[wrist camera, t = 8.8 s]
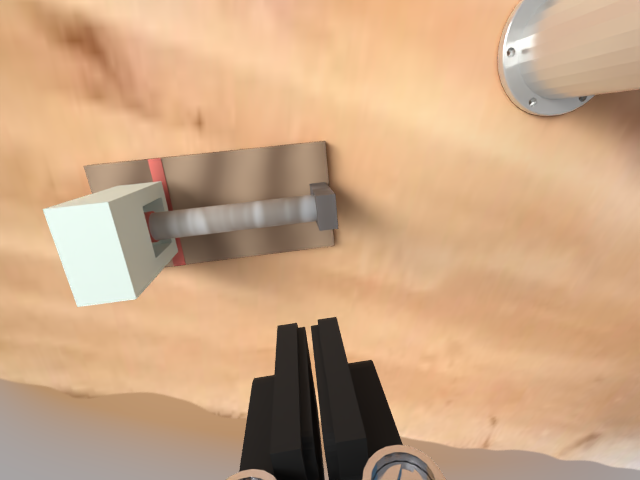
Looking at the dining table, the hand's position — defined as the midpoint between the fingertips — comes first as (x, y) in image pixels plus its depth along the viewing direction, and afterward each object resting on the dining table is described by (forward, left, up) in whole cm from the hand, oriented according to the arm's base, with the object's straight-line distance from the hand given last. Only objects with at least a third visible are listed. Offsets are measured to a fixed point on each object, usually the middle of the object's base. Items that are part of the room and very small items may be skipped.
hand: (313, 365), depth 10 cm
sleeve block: (+14, 0, -25) cm, 28 cm away
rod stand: (+7, 0, -28) cm, 29 cm away
